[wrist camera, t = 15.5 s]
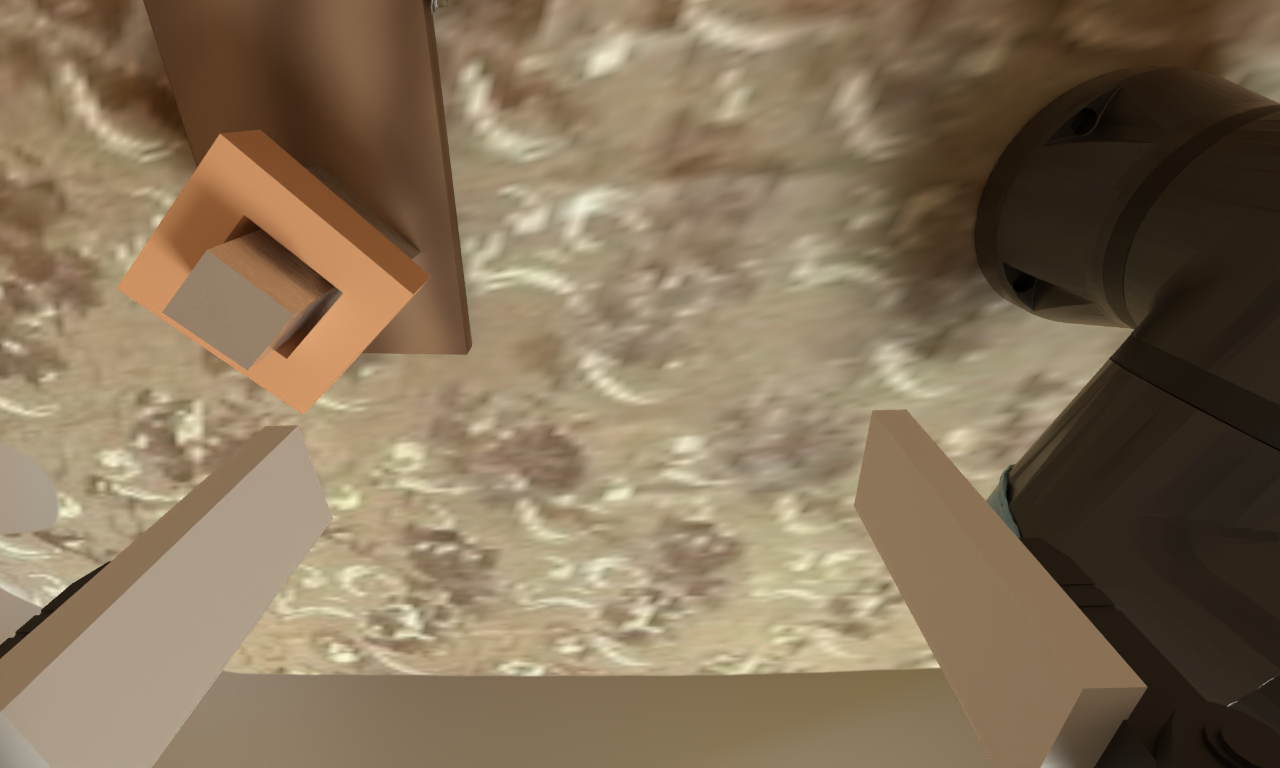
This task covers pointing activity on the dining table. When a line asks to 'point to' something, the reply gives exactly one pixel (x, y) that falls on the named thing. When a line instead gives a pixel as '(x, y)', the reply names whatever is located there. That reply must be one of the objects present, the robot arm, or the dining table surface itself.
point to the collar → (308, 227)
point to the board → (335, 120)
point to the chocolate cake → (438, 4)
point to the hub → (262, 289)
